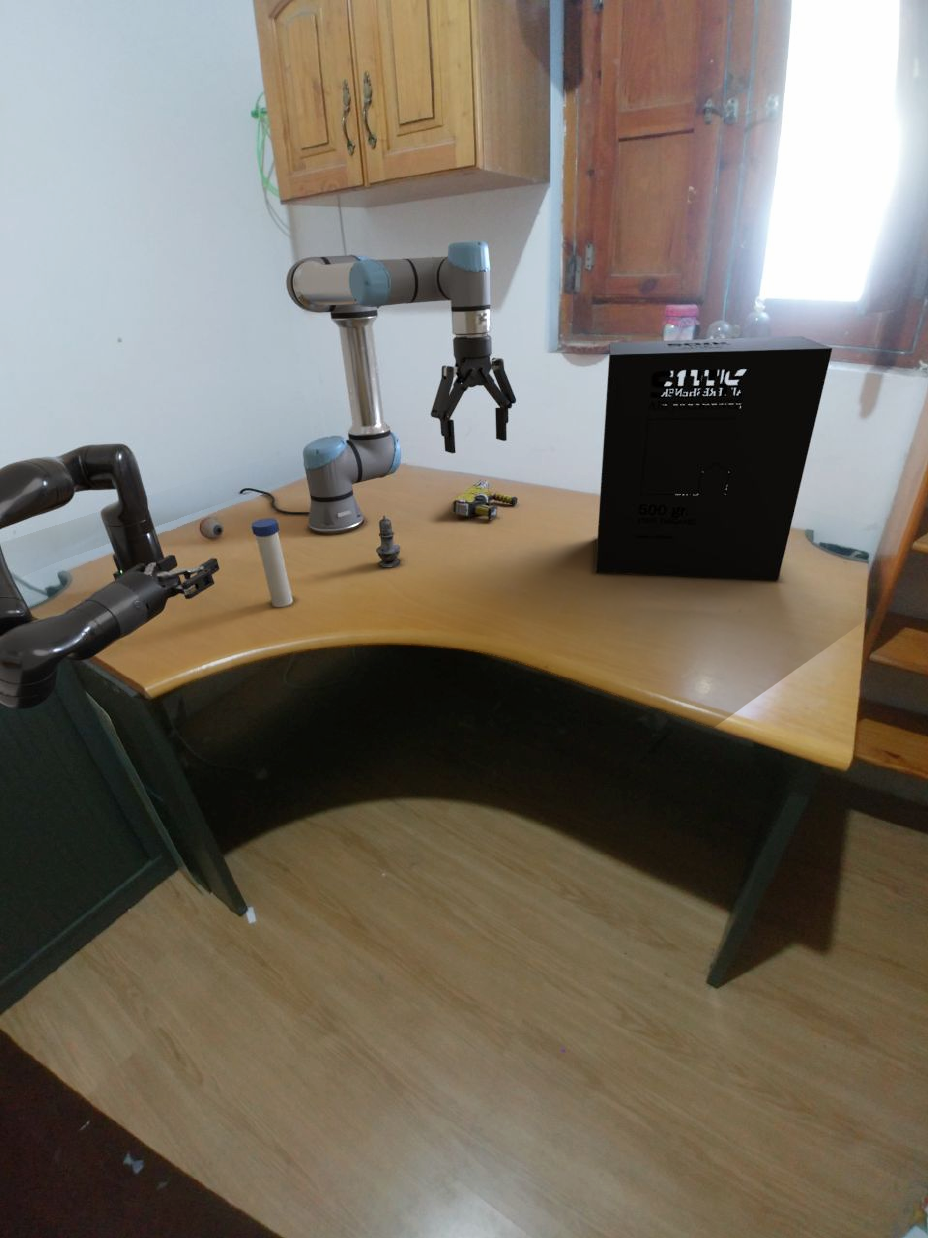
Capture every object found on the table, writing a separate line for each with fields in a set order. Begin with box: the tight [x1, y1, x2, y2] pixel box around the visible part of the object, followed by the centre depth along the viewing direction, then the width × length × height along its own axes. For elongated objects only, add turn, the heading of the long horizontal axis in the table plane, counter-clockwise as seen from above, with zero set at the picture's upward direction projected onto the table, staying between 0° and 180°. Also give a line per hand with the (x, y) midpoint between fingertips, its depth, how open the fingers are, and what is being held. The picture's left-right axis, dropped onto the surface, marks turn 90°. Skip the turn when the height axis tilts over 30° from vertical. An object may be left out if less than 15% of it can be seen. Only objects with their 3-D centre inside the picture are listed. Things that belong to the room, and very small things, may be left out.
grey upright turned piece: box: [375, 515, 402, 568], centre depth 142 cm, size 6×6×12 cm
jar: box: [255, 531, 294, 608], centre depth 126 cm, size 4×4×18 cm
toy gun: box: [452, 479, 518, 521], centre depth 175 cm, size 5×24×15 cm
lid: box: [251, 517, 280, 537], centre depth 122 cm, size 5×5×2 cm
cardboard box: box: [595, 335, 833, 581], centre depth 128 cm, size 38×20×45 cm, turn 78°
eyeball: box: [198, 516, 224, 541], centre depth 163 cm, size 6×6×6 cm
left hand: (195, 561), depth 102 cm, fingers open, 8 cm apart
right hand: (476, 445), depth 127 cm, fingers open, 13 cm apart
